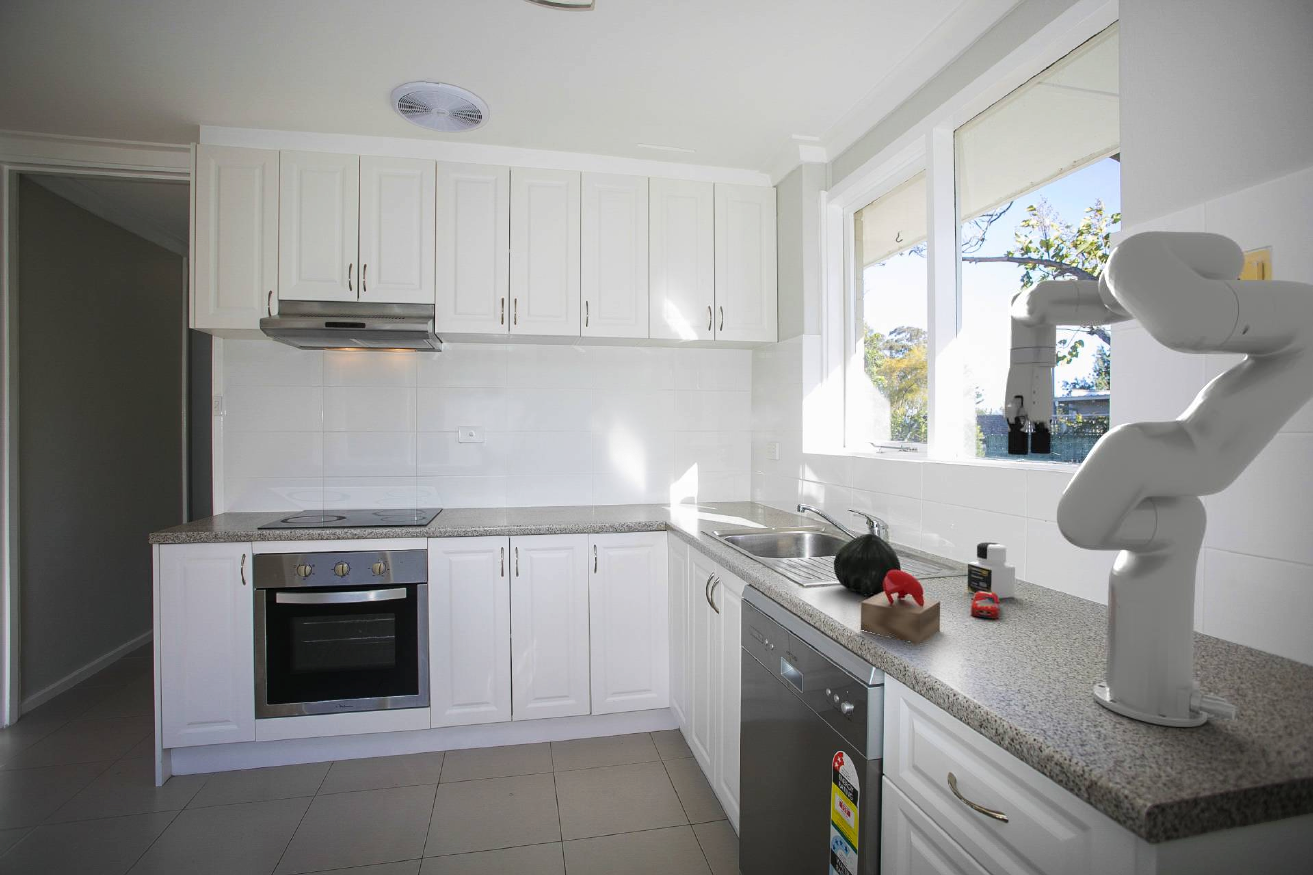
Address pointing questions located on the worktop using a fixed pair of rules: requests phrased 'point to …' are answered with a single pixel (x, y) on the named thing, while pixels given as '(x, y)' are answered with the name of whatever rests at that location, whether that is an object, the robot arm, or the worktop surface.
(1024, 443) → the robot arm
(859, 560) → the squash
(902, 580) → the red rounded piece
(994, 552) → the medicine bottle
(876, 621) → the walnut block
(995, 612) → the race car
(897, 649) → the worktop surface
